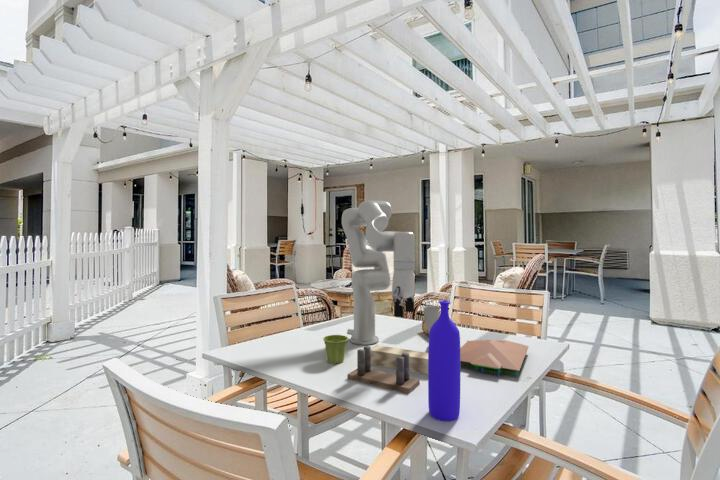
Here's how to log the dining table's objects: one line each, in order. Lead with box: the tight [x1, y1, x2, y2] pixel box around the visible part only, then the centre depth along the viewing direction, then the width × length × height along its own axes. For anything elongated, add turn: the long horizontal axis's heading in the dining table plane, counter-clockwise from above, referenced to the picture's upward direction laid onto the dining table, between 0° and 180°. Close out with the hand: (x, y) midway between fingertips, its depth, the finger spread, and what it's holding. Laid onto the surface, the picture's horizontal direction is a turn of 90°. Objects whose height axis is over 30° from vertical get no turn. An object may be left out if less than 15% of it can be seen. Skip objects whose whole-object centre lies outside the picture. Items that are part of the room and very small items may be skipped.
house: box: [460, 339, 530, 378], centre depth 141 cm, size 23×33×8 cm
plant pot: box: [322, 334, 349, 365], centre depth 141 cm, size 9×9×9 cm
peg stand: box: [347, 345, 421, 394], centre depth 122 cm, size 22×8×10 cm, turn 59°
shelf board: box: [371, 344, 428, 375], centre depth 135 cm, size 24×6×6 cm, turn 63°
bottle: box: [427, 299, 461, 422], centre depth 100 cm, size 8×8×30 cm
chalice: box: [422, 305, 441, 353], centre depth 151 cm, size 7×7×18 cm
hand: (404, 314), depth 135 cm, fingers open, 9 cm apart
